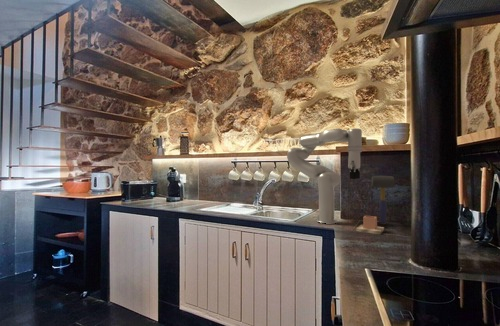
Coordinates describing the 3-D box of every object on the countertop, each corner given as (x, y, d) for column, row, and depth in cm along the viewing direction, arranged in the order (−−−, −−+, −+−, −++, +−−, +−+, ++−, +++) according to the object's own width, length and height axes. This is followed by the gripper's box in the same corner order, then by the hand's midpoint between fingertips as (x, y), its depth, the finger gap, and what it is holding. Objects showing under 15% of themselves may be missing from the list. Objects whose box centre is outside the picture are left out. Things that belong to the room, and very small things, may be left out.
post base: (356, 231, 143) (356, 219, 143) (361, 227, 152) (361, 215, 152) (380, 234, 136) (380, 221, 136) (383, 230, 145) (383, 218, 145)
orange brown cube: (363, 228, 143) (363, 217, 143) (365, 226, 148) (365, 215, 148) (375, 229, 140) (375, 218, 140) (377, 227, 145) (377, 216, 145)
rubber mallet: (393, 223, 162) (393, 175, 163) (395, 226, 155) (395, 175, 156) (371, 222, 167) (371, 175, 167) (372, 224, 160) (372, 175, 160)
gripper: (352, 150, 162) (352, 178, 162) (344, 149, 148) (344, 179, 148) (364, 150, 158) (364, 178, 158) (358, 148, 144) (358, 179, 144)
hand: (354, 178), depth 153 cm, fingers open, 9 cm apart
